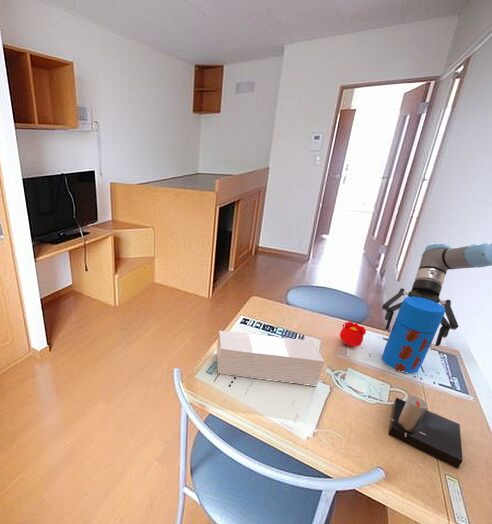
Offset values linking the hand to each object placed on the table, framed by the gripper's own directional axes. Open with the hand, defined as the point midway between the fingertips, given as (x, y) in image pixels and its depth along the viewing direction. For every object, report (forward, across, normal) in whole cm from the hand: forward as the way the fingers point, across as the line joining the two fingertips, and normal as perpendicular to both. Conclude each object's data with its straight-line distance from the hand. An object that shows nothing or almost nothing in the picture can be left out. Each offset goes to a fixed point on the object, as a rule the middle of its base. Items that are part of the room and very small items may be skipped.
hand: (411, 336), depth 105 cm
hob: (+30, +7, -12) cm, 33 cm away
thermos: (+8, 0, +11) cm, 13 cm away
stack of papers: (+34, -36, -16) cm, 52 cm away
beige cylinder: (+31, +3, -17) cm, 36 cm away
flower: (+7, -16, +11) cm, 21 cm away
